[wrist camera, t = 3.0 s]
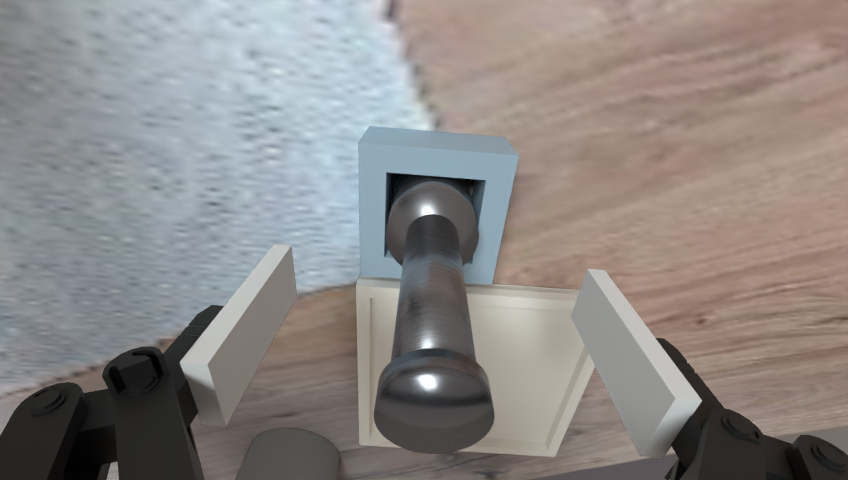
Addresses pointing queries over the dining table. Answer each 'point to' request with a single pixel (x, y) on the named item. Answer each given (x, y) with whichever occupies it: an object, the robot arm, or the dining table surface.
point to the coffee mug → (290, 457)
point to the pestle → (433, 323)
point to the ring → (433, 157)
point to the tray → (491, 361)
